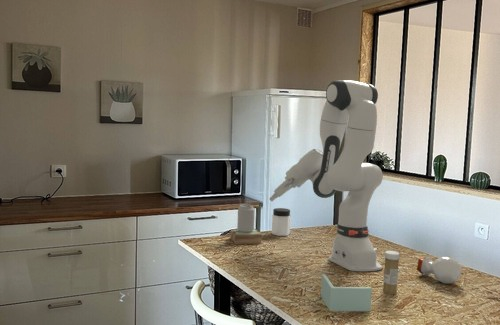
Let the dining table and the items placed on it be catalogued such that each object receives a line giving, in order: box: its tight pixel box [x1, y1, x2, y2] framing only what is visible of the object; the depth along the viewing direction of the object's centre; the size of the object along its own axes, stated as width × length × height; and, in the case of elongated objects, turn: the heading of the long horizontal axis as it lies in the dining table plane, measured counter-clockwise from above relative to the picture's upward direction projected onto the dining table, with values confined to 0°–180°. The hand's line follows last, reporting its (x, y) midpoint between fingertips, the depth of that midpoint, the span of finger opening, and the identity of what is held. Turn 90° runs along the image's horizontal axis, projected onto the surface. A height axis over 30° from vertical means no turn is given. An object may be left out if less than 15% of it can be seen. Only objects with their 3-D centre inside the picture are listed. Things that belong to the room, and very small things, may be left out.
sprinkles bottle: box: [382, 250, 401, 295], centre depth 152 cm, size 5×5×14 cm
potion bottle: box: [416, 255, 462, 285], centre depth 166 cm, size 9×10×15 cm
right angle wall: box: [320, 274, 373, 312], centre depth 142 cm, size 12×12×8 cm
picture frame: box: [230, 228, 262, 245], centre depth 212 cm, size 10×12×4 cm
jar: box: [271, 207, 291, 237], centre depth 227 cm, size 9×8×12 cm
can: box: [236, 203, 255, 233], centre depth 212 cm, size 8×8×12 cm
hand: (272, 198), depth 208 cm, fingers open, 8 cm apart
